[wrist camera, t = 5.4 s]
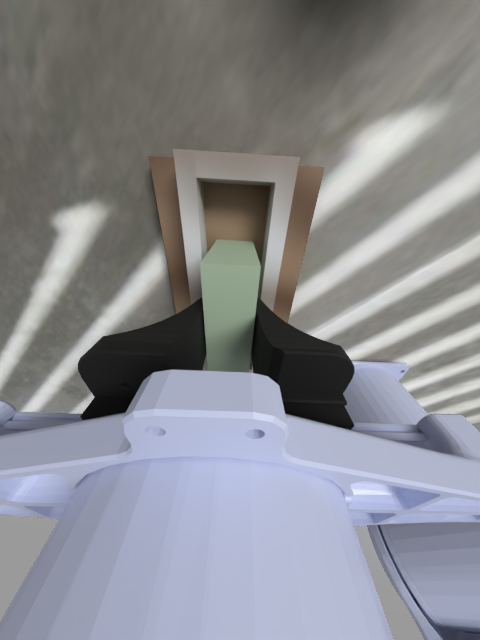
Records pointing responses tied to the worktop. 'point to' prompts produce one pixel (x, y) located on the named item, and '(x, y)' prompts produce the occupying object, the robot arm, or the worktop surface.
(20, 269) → the worktop surface
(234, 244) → the pale green rectangular block
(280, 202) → the track base
